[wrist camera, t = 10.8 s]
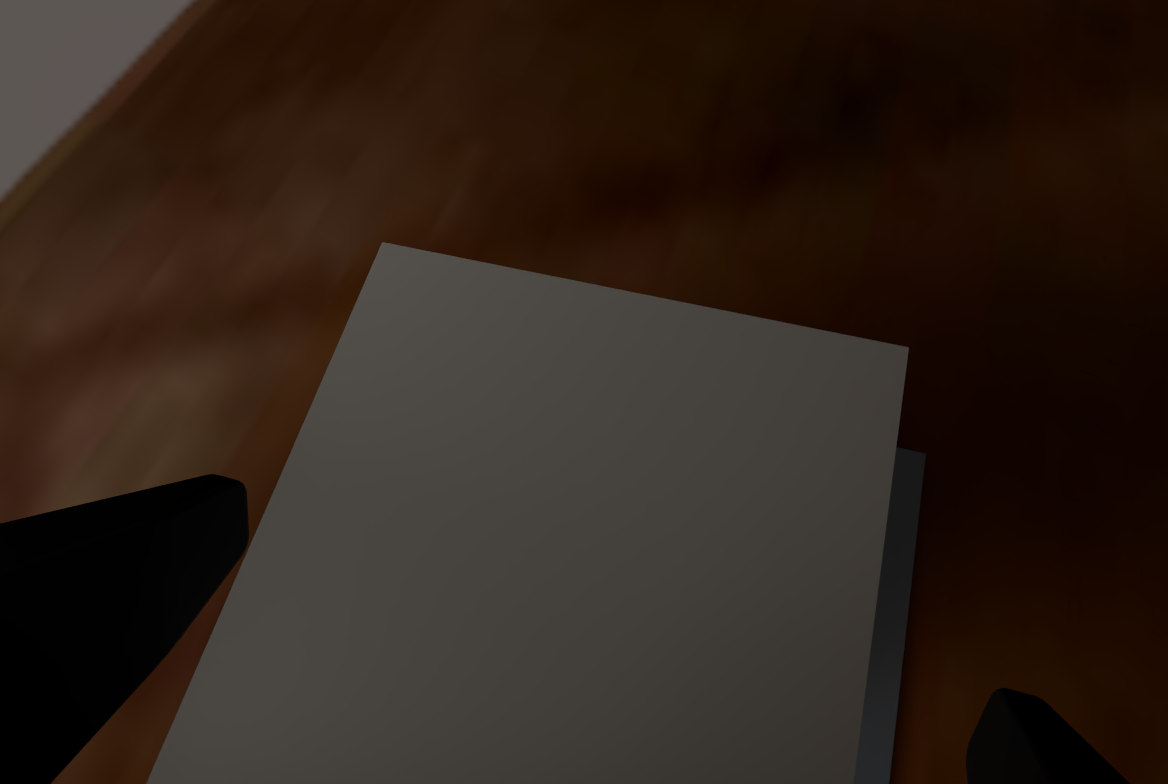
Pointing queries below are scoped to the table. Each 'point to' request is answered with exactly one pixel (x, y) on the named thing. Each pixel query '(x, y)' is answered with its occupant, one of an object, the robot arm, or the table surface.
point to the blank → (557, 547)
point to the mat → (890, 621)
